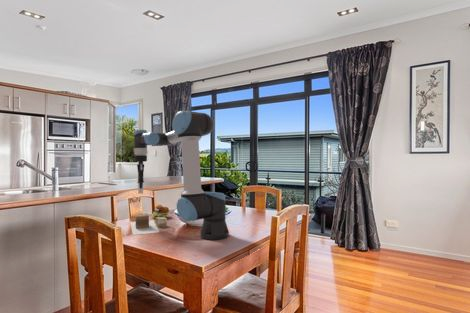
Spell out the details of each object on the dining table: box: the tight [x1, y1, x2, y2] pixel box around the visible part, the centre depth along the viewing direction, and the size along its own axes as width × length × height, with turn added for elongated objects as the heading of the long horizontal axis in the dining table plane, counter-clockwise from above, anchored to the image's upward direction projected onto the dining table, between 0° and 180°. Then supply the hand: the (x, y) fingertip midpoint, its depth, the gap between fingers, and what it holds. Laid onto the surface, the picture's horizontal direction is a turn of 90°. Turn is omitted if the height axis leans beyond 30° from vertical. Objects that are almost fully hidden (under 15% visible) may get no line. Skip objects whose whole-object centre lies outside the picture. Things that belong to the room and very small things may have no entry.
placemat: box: [129, 219, 160, 236], centre depth 176 cm, size 32×14×1 cm, turn 22°
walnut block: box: [135, 213, 150, 229], centre depth 176 cm, size 7×7×7 cm
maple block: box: [154, 217, 168, 229], centre depth 178 cm, size 5×5×5 cm
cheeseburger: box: [151, 204, 170, 220], centre depth 202 cm, size 10×11×10 cm
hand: (140, 193), depth 184 cm, fingers closed
